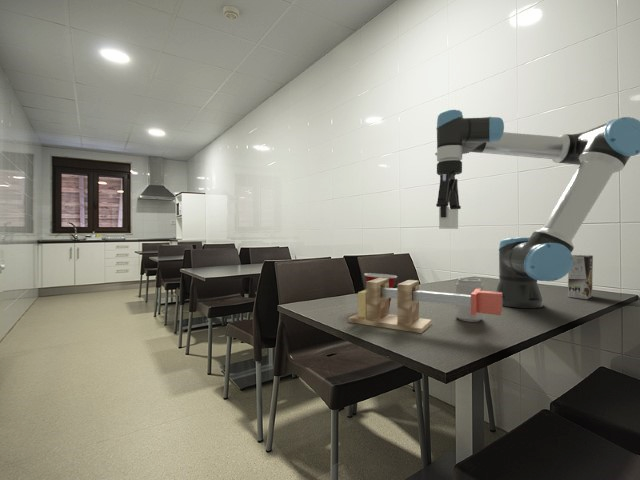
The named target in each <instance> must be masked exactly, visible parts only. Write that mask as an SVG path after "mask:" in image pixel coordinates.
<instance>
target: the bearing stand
mask: <svg viewBox="0 0 640 480" xmlns="http://www.w3.org/2000/svg"><path fill="white" fill-rule="evenodd" d="M365 283H366V286H365V287H366V288H365V290H366V319H362V318H358V313H356V314H354V315H352V316H350V317H348V323H354V324H359V325H367V326H372V327H373V326H374V327H379V328H386V329H393V330H399V331H405V332H410V333H411V332H413V333H418V334H422V333H424V332H425V331H426V330H427V329H428V328H429V327H431V326H432V325H433V324H432V323H433V322H432V321H433V320H432V319H429V318H421V317H420V301H414V300H412V290H419V291H420V280H415V279H408V280H405V281H402V282H399V283H397V287H396V289H397V301H396V303H397V304H396V305H397V311H396V312H397V313H396V314H391V313H390V308H389V298H385V297H381V287H385V288H389V278H377V279H374V280H371V281H365Z"/></svg>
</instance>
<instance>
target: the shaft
mask: <svg viewBox="0 0 640 480" xmlns="http://www.w3.org/2000/svg"><path fill="white" fill-rule="evenodd" d="M502 293H503V292H495V291H491V290H483V291H482V289H478V288H476V289H475V290H474V291H473V292H472V293H471V295H464V294H456V293H452V292H451V293H450V292H442V291H441V292H440V291H428V290H420V289H419V290H412V300H414V301H419V302H423V303H424V302H425V303H433V304H434V303H435V304H441V305H442V304H443V305H453V306H456V305H461V306H471V315H477V314H478V313H483V315H495V316H502V315H503V305H502ZM381 297H385V298H391V299H397V287H396V288H395V287H393V288H385V287H381Z"/></svg>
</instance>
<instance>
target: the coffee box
mask: <svg viewBox="0 0 640 480" xmlns="http://www.w3.org/2000/svg"><path fill="white" fill-rule="evenodd" d="M593 259H594V255H589V254H588V255H587V254H586V255H583V254H582V255H581V254H578V255H577V254H572V260H573V264H572V267H571V269H570V271H569V272H568V273H567V275H568V277H567V278H568V279H567V283H568V284H567V286H568V287H567V297H568V298H575V299H583V300H588V299H590V298H592V297H593V272H594V269H593V268H594V266H593V263H594V260H593Z"/></svg>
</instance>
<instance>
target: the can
mask: <svg viewBox="0 0 640 480" xmlns="http://www.w3.org/2000/svg"><path fill="white" fill-rule="evenodd" d="M457 280H458V281H457V282H456V283H455V294H464V295H471V293H472V292H473V291H474V290H475V289H476V288H478V289H482V291H484V284H483V283H482V282H481V281H482V280H481V279H480V278H474V277H460V278H458V279H457ZM455 317H457V319H458V320H461V321H463V322H468V323H469V322H470V323H476V322H477V323H478V322H480V321H481V320H482V319H483V318H484V313H478V314H477V315H471V306H461V305H455Z"/></svg>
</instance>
